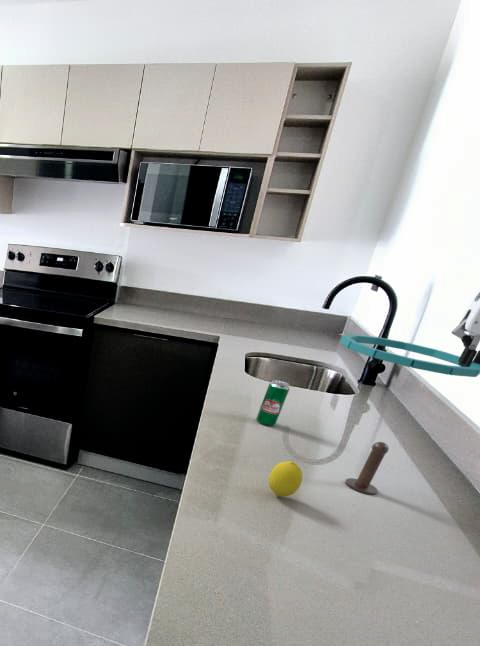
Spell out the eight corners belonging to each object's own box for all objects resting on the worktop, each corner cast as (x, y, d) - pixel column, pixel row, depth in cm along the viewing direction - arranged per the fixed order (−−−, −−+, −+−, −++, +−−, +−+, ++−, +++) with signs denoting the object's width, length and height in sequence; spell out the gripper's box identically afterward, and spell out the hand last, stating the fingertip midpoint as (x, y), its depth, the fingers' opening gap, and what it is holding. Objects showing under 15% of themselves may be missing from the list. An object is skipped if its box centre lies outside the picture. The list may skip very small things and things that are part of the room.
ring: (446, 356, 121) (449, 350, 120) (504, 385, 98) (509, 378, 98) (329, 335, 127) (332, 328, 126) (359, 357, 105) (363, 350, 104)
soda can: (254, 422, 139) (269, 381, 134) (257, 417, 143) (272, 378, 138) (273, 428, 136) (289, 387, 131) (276, 423, 140) (292, 383, 135)
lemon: (288, 507, 97) (304, 471, 93) (259, 494, 100) (273, 459, 97) (296, 498, 101) (311, 463, 97) (267, 486, 104) (281, 452, 100)
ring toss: (371, 485, 111) (394, 441, 107) (380, 497, 106) (404, 451, 101) (341, 477, 113) (362, 433, 108) (349, 489, 107) (371, 444, 103)
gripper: (480, 276, 101) (435, 364, 108) (575, 290, 97) (521, 380, 104) (462, 273, 107) (420, 356, 115) (550, 287, 103) (501, 371, 111)
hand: (469, 367), depth 110 cm, fingers closed on ring, 1 cm apart
